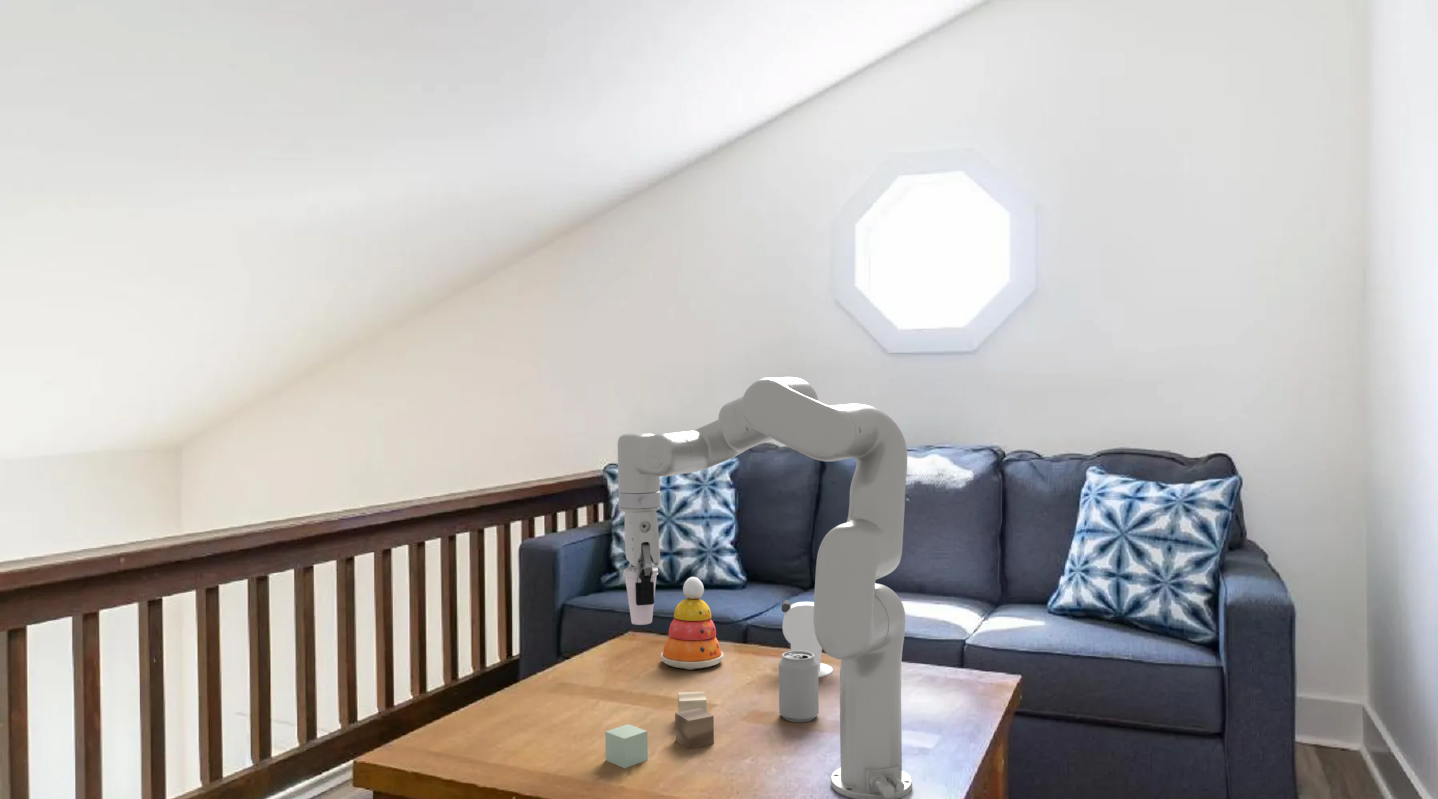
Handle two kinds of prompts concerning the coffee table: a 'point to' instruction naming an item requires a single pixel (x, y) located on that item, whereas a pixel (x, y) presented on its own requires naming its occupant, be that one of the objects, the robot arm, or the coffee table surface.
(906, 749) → the coffee table surface
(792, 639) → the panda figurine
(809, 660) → the can
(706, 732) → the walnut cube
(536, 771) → the coffee table surface
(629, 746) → the sage painted cube
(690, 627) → the stacking toy
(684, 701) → the maple cube
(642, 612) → the smoothie
